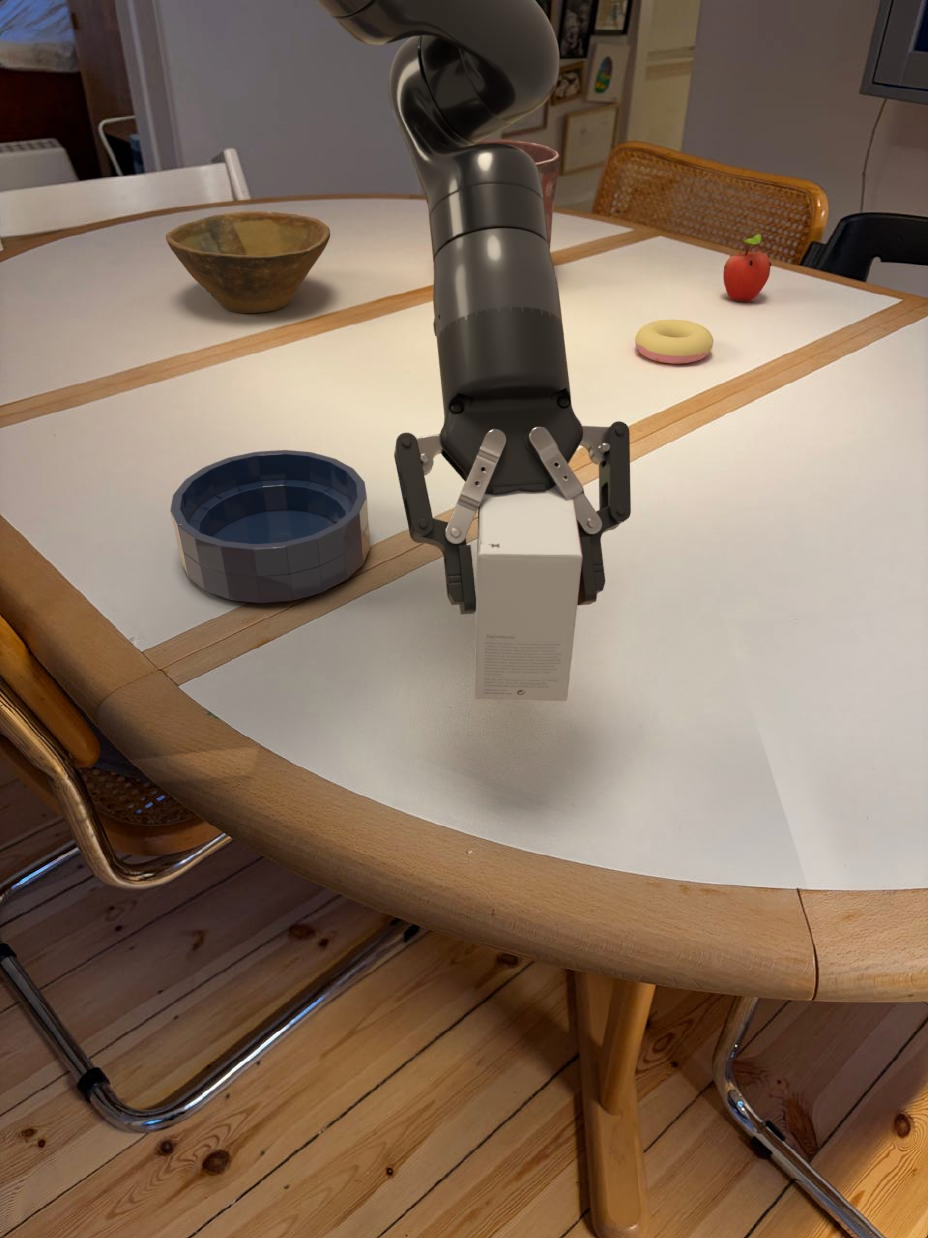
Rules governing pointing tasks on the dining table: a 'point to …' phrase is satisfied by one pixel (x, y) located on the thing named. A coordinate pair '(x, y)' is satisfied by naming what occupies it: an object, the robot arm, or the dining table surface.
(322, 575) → the glazed bowl
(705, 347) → the donut
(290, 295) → the bowl
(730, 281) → the apple
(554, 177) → the pottery
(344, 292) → the dining table surface
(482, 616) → the small box
